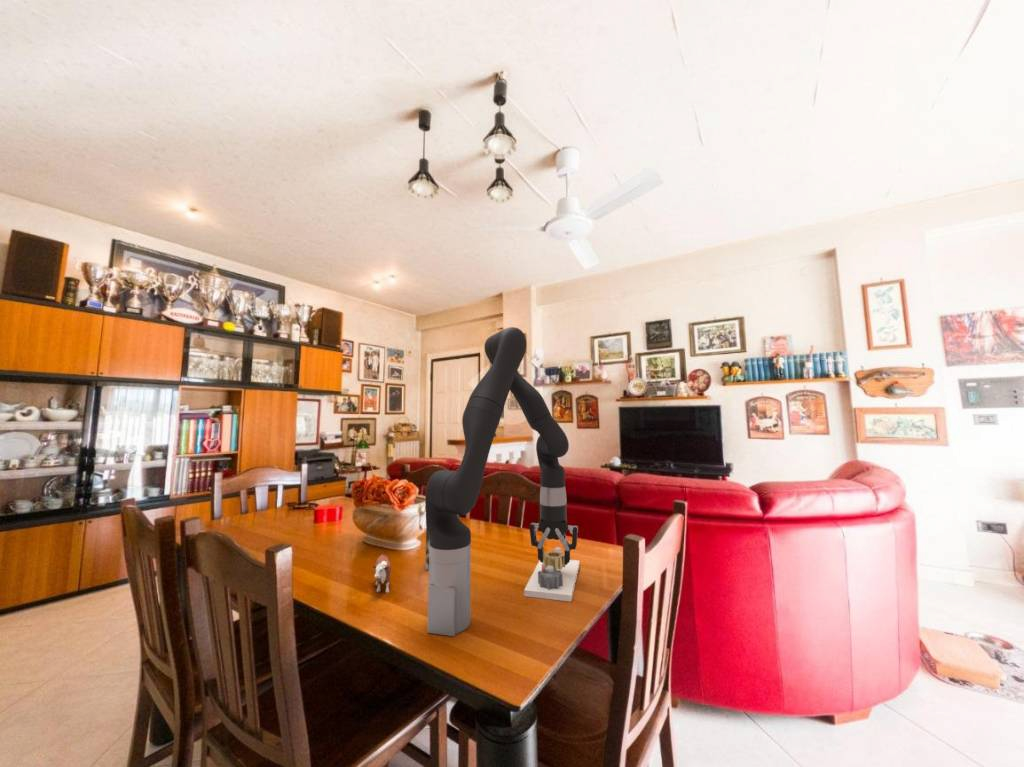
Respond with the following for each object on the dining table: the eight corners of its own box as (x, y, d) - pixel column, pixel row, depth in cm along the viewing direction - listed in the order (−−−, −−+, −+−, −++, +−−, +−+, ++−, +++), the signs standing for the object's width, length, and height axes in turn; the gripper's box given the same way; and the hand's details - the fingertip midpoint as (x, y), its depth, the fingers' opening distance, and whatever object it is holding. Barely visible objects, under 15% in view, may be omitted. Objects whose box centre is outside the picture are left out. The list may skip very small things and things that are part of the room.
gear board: (571, 601, 94) (570, 574, 94) (524, 596, 97) (523, 569, 97) (579, 565, 117) (579, 544, 118) (541, 562, 120) (540, 541, 121)
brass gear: (564, 571, 103) (563, 559, 104) (540, 568, 105) (540, 557, 105) (566, 562, 110) (566, 551, 110) (544, 560, 111) (544, 549, 111)
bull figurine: (371, 601, 95) (372, 567, 95) (375, 579, 108) (376, 549, 108) (389, 599, 96) (390, 565, 97) (391, 577, 109) (392, 548, 110)
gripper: (525, 503, 107) (526, 565, 106) (577, 506, 103) (578, 570, 102) (531, 498, 114) (531, 555, 113) (579, 500, 111) (580, 560, 109)
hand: (554, 562), depth 107 cm, fingers closed on brass gear, 6 cm apart
